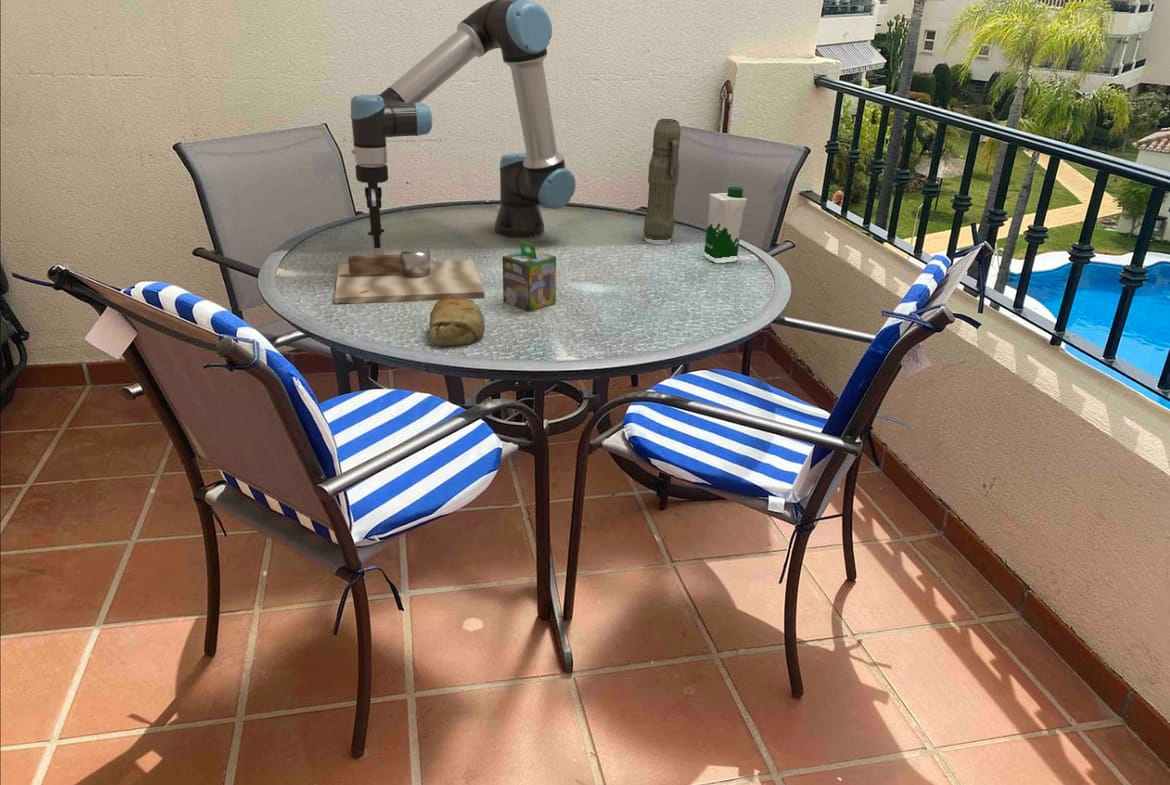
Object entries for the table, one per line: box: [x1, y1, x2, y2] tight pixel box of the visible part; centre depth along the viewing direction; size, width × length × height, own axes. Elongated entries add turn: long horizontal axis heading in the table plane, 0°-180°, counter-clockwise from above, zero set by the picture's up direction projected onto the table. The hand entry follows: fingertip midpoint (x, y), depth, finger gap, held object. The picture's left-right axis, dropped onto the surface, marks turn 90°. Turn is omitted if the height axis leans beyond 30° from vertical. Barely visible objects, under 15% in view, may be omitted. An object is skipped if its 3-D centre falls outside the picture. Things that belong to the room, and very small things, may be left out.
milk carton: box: [703, 186, 748, 258], centre depth 218 cm, size 9×9×20 cm
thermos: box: [643, 118, 682, 240], centre depth 230 cm, size 9×12×35 cm
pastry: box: [427, 297, 486, 346], centre depth 164 cm, size 14×12×8 cm
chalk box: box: [502, 240, 557, 313], centre depth 182 cm, size 9×9×15 cm
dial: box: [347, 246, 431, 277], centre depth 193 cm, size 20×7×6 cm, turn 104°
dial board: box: [334, 259, 485, 304], centre depth 193 cm, size 34×25×2 cm
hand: (378, 259), depth 199 cm, fingers closed
